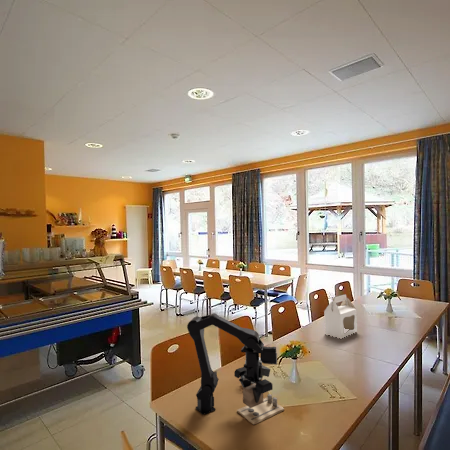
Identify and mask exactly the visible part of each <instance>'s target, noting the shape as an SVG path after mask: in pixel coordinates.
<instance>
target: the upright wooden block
mask: <svg viewBox="0 0 450 450" xmlns="http://www.w3.org/2000/svg"><path fill="white" fill-rule="evenodd" d="M255 385H256V384H252V383H251V385H250V386H247V387H244V388H243V387H242V403H243V404H244V405H245V406H248V407H250V408H252V407H254V406H256V405H259V404H261V403H263V399H264V393H261V396H260V399H259V402H258V403H256V402H255V398H254V394H253V390H252V388H254V387H255Z"/></svg>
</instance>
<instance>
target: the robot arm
mask: <svg viewBox="0 0 450 450" xmlns="http://www.w3.org/2000/svg"><path fill="white" fill-rule="evenodd" d="M210 326H214V327H215V328H218V329H220V330H222V331H223V332H225V333H228V334H230V335H231V336H233V337H235V338H237V339H238V340H239V341H240V343H241V344H243V345H244V346H243V347H241V349H240V352H241V353H245V361H246V364H245V363H244V364H243V366H242V367H239V368H237V369H234V371H233V372H234V377H235V378H237V379H238V381H239V383H240V384H241V387H242V389H243V388H244V387H247V386H250V385H252V383H251V382H253V383H255V384H256V385H255V387H254V388H252V390H253V394H254V398H255V402H256V403H258V402H259V399H260V396H261V393H263V394H265V393H268V392H270V391H272V390H273V383H272V382H271V381H269V380H268V379H266V378H265V379H263V377H267V378H269V377H270V374H271V373H270V372H271V368H270V367H267V366H265V365H278V353H277V347H276V346H265V343H264V342H263V341H262V340H261V339H260V334H259V332H258V331H256V330H254V329H250V328H247V327H241V326H240V325H237V324H236V323H234V322H232V321H229V320H228V319H226V318H224V317H222V316H221V315H218V314H217V313H215V312H214V313H211V314H207V315H203V316H195V317H193V318H192V319H191V320H190V321H188V323H187V325H186V329H187V331H188V334H189V336H190V338H191V339H192V340H193V342H194V347H195V350H196V356H197V360H198V363H199V368H200V369H199V370H200V374H201V375H200V376H201V377H200V387H199V388H198V390H197V392H196V394H195V396H196V399H197V404H196V405H197V406H195V409H196V410H197V411H198V412H199V413H200V414H201V415H204V416H205V415H206V414H209V413H212V412H213V411H216V407H215V397H214V393H215V390H216V388H217V386H218V382H219V380H220V379H219V377H218V371H214V370H213V369H212V366H211V361H210V358H209V353H208V350H207V345H206V342H205V341H206V340H205V337H204V336H205V329H206V328H208V327H210ZM259 358H260V359H261V361H262V363H261V362H259ZM263 364H264V365H263ZM259 378H262V379H260V380H259Z"/></svg>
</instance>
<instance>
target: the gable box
mask: <svg viewBox="0 0 450 450" xmlns="http://www.w3.org/2000/svg"><path fill="white" fill-rule="evenodd" d="M331 300H332V301H330V303H329V304H328V305H327V306H326V308H325V309H324V310H323V312H324V314H323V315H324V335H325V334H326V336H328V335H330V336H329V337H332V336H333V337H332V338H335V337H337V338H336V339H339V338H340V340H343V339H345V338H347V337H349V336H348V335H350V336H352V335H353V333H354V334H356V333H355V332H357V331H358V329H357V308H356V307H355V305H354V304H353V303H352V301H351V300H350V299H349V297H347V294H340V295H337V296H334V297H333V298H332V297H331ZM338 303H340V305H338ZM344 328H345V329H349V330H348V331H347V332H346V333H344ZM357 333H358V332H357ZM351 334H352V335H351ZM346 336H347V337H346ZM344 337H345V338H344ZM342 338H343V339H342Z"/></svg>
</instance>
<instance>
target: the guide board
mask: <svg viewBox="0 0 450 450" xmlns="http://www.w3.org/2000/svg"><path fill="white" fill-rule="evenodd" d="M283 411H285V408H284V407H283V406H282V405H280V404H278V398H277V397H273V395H272V394H270V393H269V394H267V396H266V397H263V403H261V404H259V405H256V406H254V407H252V408H250V407H248V406H247V405H245V406H243V407H240V408H238V409H236V412H237V413H238V414H239V415H241V416H242V417H243V418H245V419H246V420H247V421H248V422H249V423H251V424H252V425H253V426H254V425H257V424H258V423H261V422H263V421H265V420H267V419H269V418H271V417H273V416H275V415H277V414H279V413H281V412H283Z"/></svg>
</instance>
